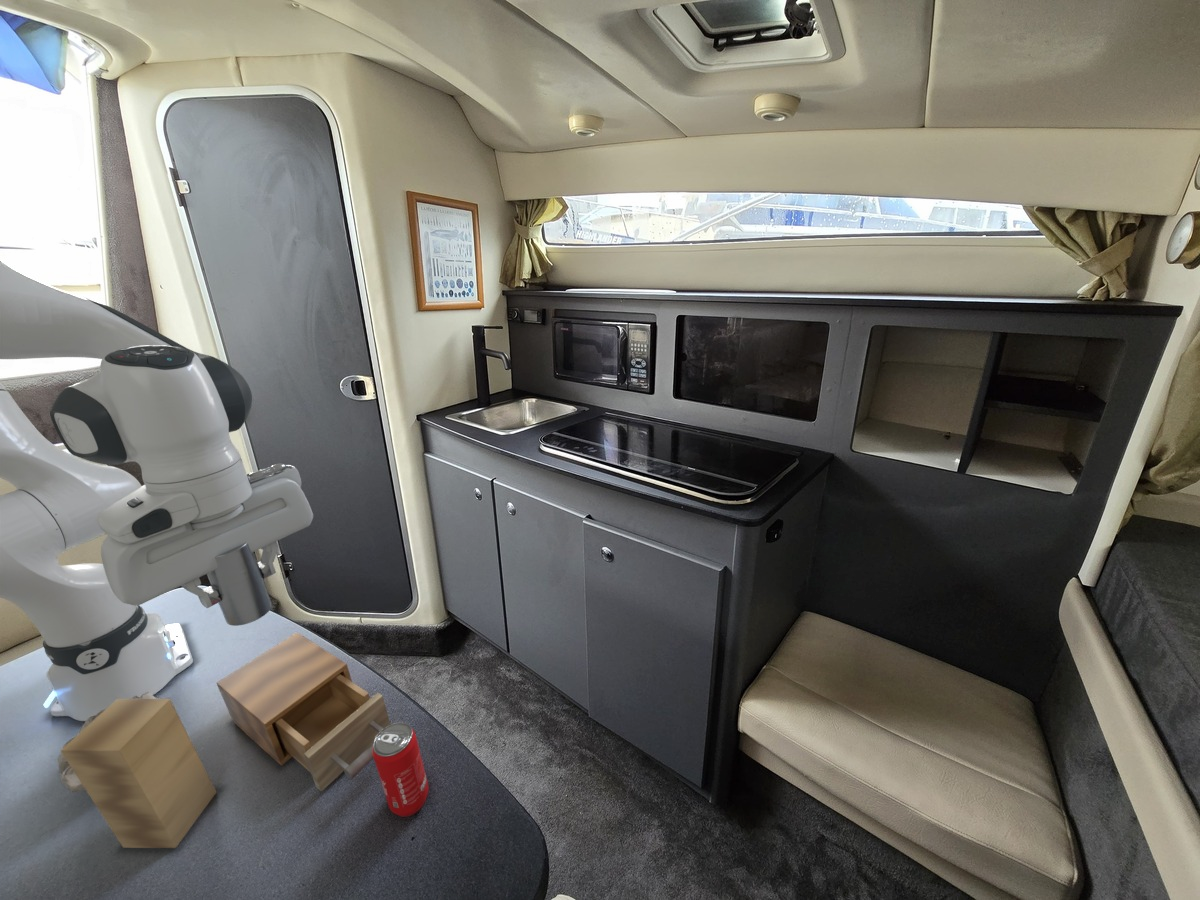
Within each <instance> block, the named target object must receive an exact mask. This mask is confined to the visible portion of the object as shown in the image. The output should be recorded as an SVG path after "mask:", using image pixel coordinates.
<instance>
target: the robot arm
mask: <svg viewBox="0 0 1200 900" xmlns="http://www.w3.org/2000/svg"><path fill="white" fill-rule="evenodd" d="M50 358H51V359H52V358H87V359H98V360H101V362H100V365H99V366H100V370H99V372H97V373H95V374H94V375H93V376H91V377H88V378H86V379H84V380H81V381H80V382H77V383H74V384H72V385H69V386H65V387H64V388H63V389H62V390H61V391H60V392H59V394H57V396H56V398H54V399H55V400H53V404H52V405H51V408H50V411H49V415H50V420H51V422H52V425H53V427H54V429H55V430H56V432H57V435H58V437H59V438H60V441H61V442H62V445H64V447H65V449H66V450H67V451H68V452H66V451H65V450H64V449H61V448H59V447H58V446H57V445H56V444H54V443H52V442H51V441H49V440H48V439H47V438H46V437H45V436H44V435H43V434H42V433H41V432H40V431H39V430H38V429H37V428H36V427H35V425H34V424H33V423H32V421H31V420H30V419H29V418H28V417H27V416H26V414H25V413H24V411H22V409H21V408H20V406H19V405H18V403H17V402H16V401H15V399H14V398H13V396H12V395H11V394H10V392H9V391H8V390H7V388H6V387H5V386H4V384H3V382H1V380H0V479H1V480H4V481H6V482H8V483H9V484H11V485H13V486H14V487H15V488H16V489H14V490H13V491H10V492H7V493H4V494H1V495H0V598H1V599H4V600H7V601H8V602H11V603H12V604H13V605H15V606H17V607H18V608H19V609H20V610H22V612H23V613H24V614H25V615H26V616H27V618H28V619H29V620H30V621H31V623H32V624H33V625H34V627H35V629H36V630H37V631H38V633H39V634H40V636H41V637H42V639H43V640H42V647H43V649H44V653H45V655H46V657H47V658H48V659H49V660H50V661H51V663H52V664H51V665H50V666H49V668H48V670H47V671H46V673H45V675H46V678H47V680H48V683H49V685H50V687H51V689H52V692H51V693H50V694H49V696H48V697H47V699H46V700H45V702H44V703H43V707H44V708H45V709H47V708H49V707H50V705H51V704H52V702H53V700H54V699H55V698H56V701H54V703H53V705H52V706H51V707H50V710H49V711H50V714H51V716H52V717H69V718H72V719H73V720H76V721H79V722H86V720H87V719H88V718H89V717H90V716H91V715H95V714H96V713H98V712H99V711H101V710H104V709H107V708H108V707H109V706H110V705H111V704H112V703H113V702H114V701H116V700H117V699H130V698H132V697H134V696H138V697H141V696H142V695H143V694H145V693H147V692H149V693H151V694H152V695H153V696H154V695H156V694H157V693H158V692H160V691H161V690H162V689H163V688H165V686H166V685H167V684H169V683H170V682H171V681H172V679H173V678H175V677H176V676H177V675H178V674H180V673H181V672H183V671H184V670H186V669H187V668H189V667H190V666H191V665H193V662H194V659H193V655H192V653H191V649H190V647H189V643H188V641H187V638H186V634H185V632H184V629H183V627H182V625H181V623H168V624H165V623H164V621H163V620H162V617H161V616H160V614H158V613H155V612H146V611H145V609H144V608H143V607H142V605H143V604H145V603H147V602H149V601H151V600H153V599H156V598H158V597H160V596H162V595H164V594H167V593H169V592H170V591H173V590H175V589H178V588H180V587H182V588H183V589H184V590H186V591H187V592H189V593H190V594H193V595H195V596H197V597H198V600H199V602H200V604H201V605H202V606H203V607H204V608H206V609H210V608H212V607H213V606H215V605H217V604H219V602H220V601H221V598H220V597H218V596H219V593H218V591H217V590H216V589H213V588H212V586H211V585H210V586H207V587H205V588H201V587H199V586H201V585H202V582H201V579H200V578H201V577H203V576H205V575H207V573H209V572H212V571H214V570H216V569H217V568H218V564H217V561H216V559H215V557H216V556H218V555H220V554H222V553H225V552H227V551H229V550H231V549H234V548H236V547H238V546H240V545H242V544H245V543H248V545H249V548H250V550H251V552H254V553H255V552H257V551H259V550H262V553H261V556H260V560H259V562H258V561H257V562H258V565H259V568H260V571H261V573H262V576H263V579H264V580H265V579H267V578H269V577H271V576H273V575H275V574H276V573H277V571H276V568H275V565H274V563H275V559H276V556H277V554H278V550H279V546H278V541H280V540H283V539H284V538H287V537H288V536H290V535H293V534H295V533H297V532H300V531H302V530H303V529H306V528H308V527H310V526H311V524H312V521H313V519H314V513H313V511H312V507H311V505H310V503H309V500H308V499H307V497H306V495H305V492H304V491H303V489H302V479H301V475H300V472H299V470H298V468H297V467H295V466H294V465H292V464H284V463H281V462H280V463H276V464H272V465H271V466H270V467H266V468H262V469H259V470H255V471H253V472H250V473H247V471H246V467H245V465H244V462H243V458H242V456H241V454H240V452H239V450H238V449H237V448H236V446H235V445H234V443H233V442H232V440H231V437H230V433H232V432H236V431H238V430H240V429H241V427H243V426H244V424H245V422H246V421H247V419H248V417H249V415H250V412H251V409H252V403H253V394H252V390H251V387H250V385H249V383H248V382H247V380H246V379H245V377H244V376H243V375H242V374H241V373H240V372H238V370H237V369H235V368H234V367H232V366H231V365H230V364H228V363H227V362H225V361H223V360H222V359H219V358H217V357H214V356H212V355H209V354H204V353H200V352H197V351H194V350H192V349H190V348H188V347H186V346H184V345H182V344H180V343H178V342H176V341H175V340H173V339H171V338H169V337H167V336H165V335H163V334H162V333H160V332H158V331H156V330H154V329H153V328H151V327H149V326H147V325H146V324H144V323H142V322H141V321H139V320H137V319H134V318H133V317H131V316H129V315H127V314H125V313H124V312H122V311H119V310H118V309H115V308H113V307H111V306H109V305H107V304H104V303H102V302H98V301H97V300H93V299H90V298H87V297H84V296H83V297H82V296H79V295H76V294H74V293H71V292H68V291H65V290H62V289H59V288H57V287H54V286H52V285H49V284H47V283H44V282H42V281H39V280H37V279H35V278H33V277H31V276H29V275H27V274H26V273H23V272H21V271H19V270H18V269H16V268H14V267H12V265H10V264H8V263H7V262H6V261H4V260H2V259H1V258H0V360H28V359H50ZM130 462H133V463H134V462H135V463H137V464H138V465H139V467H140V470H141V478H142V482H143V485H142V484H141V483H140V482H139V480H138V479H137V478H136V477H135V476H134V475H132V474H131V473H129V472H128V471H126V470H124V469H121V468H119V467H116V465H121V464H125V463H130ZM114 465H115V466H114ZM105 535H106V537H105V538H104V539H103V541H102V544H101V546H100V556H101V562H102V563H97V562H96V563H94V562H90V563H89V562H85V563H76V564H67V565H61V564H60V562H59V560H58V556H59V555H61V554H63V553H65V552H68V551H69V550H72V549H74V548H77V547H79V546H81V545H84V544H86V543H88V542H91V541H92V540H95V539H98V538H100V537H103V536H105ZM140 605H141V606H140Z"/></svg>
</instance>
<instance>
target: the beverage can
mask: <svg viewBox="0 0 1200 900" xmlns="http://www.w3.org/2000/svg"><path fill="white" fill-rule="evenodd" d="M390 724H391V725H388V726H387V727H385V728H384V729H382V730H381V731H380V732H379V733H378V735H377V736H376V738H375V740H374V744H373V757H374V759H373V760H374V763H375V766H376V769H377V772H378V773H377V774H378V776H379V779H380V783H381V786H382V789H383V792H384V796H385V799H386V802H387V806H388V809H389V810H390V811H391V812H392V813H393V814H395V815H397V817H401V818H408V817H410V816H413V815H415V814H417V813H418V812H419V811H420V810H421V809H422V808H423V807H424V805H425V804H426V800H427V796H428V794H429V783H428V779H427V778H428V777H427V774H426V771H425V767H424V762H423V759H422V754H421V751H420V747H419V743H418V739H417V735H416V731H415V730H414V728H412V727H411V725H410V724H408V723H407V722H403V721H400V722H398V721H397V722H394V723H390Z"/></svg>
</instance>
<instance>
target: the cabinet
mask: <svg viewBox="0 0 1200 900" xmlns="http://www.w3.org/2000/svg"><path fill="white" fill-rule="evenodd" d="M338 674H341V675H342V676H344V677H345V678H347V679H348V680H350V681H351V682H353V679H352V676H351V673H350V671H349V667H348V664H347V663H346V662H344V661H343V660H342V659H340V658H338V657H337V656H335V655H334V654H332V653H331V652H329V651H328V650H326V649H324V648H323V647H321V646H320V645H319V644H316V643H315V642H313V641H312V640H310V639H309V638H307V637H305V636H304V635H302V634H301V633H299V632H298V631H296V632H295V633H293V634H292V635H290V636H288V637H287V638H285V639H283V640H282V641H281V642H279V643H277V644H276V645H274V646H273V647H271V648H269V649H268V650H266V651H265V652H263V653H261V654H260V655H258V656H257V657H255V658H254V659H252V660H250V661H249V662H247V663H245V664H244V665H242V666H241V667H239V668H237V669H236V670H235V671H233V672H231V673H229V674H228V675H226V676H225V677H223V678H221V679H220V680H219V681H217V682H216V686H217V687H218V690H219V693H220V695H221V697H222V700H223V702H224V704H225V706H226V708H227V711H228V713H229V715H230V717H231V719H232V721H233V724H234V725H236V726H237V727H238V728H239V729H240V730H241V731H243V732H244V733H245V734H246V735H247V736H248V737H249V738H250V739H251V740H252V741H254V742H255V743H256V744H257V745H258V746H259V747H260V748H261V749H262V750H263V751H264V752H266V753H267V754H268V755H269V756H270V757H271V758H272V759H273V760H274V761H275V762H277V763H278V765H279V766H283V765H285V764H286V763H287V762H288V761H290V759H292V758H293V757H292V756H291V755H290V754H289V753H288V752H286V751H285V750H284V749H283V748H282V747H281V746H280V744H279V741H278V739H277V736H276V734H275V731H274V729H273V726H272V723H274V722H275V721H277V720H278V719H279V718H281V717H282V716H283V715H285V714H286V713H287V712H289V711H290V710H291V709H293V708H294V707H295V706H297V705H298V704H299V703H301V702H302V701H303V700H305V699H306V698H307V697H309V696H310V695H311V694H313V693H314V692H316V691H317V690H318V689H320V688H321V687H322V686H324V685H325V684H326V683H328V682H329V681H330V680H332V679H333V678H334V677H336V676H337V675H338Z"/></svg>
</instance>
